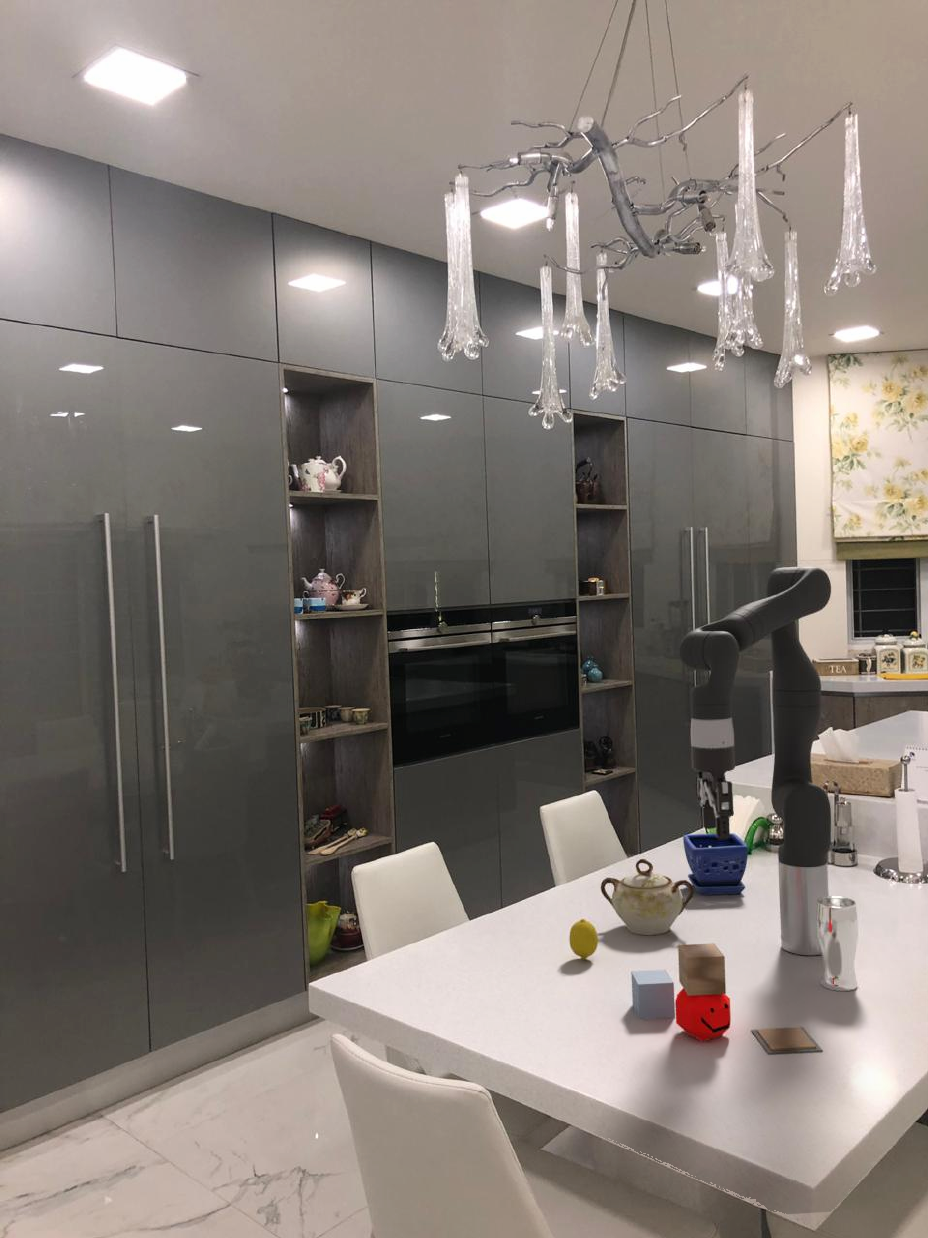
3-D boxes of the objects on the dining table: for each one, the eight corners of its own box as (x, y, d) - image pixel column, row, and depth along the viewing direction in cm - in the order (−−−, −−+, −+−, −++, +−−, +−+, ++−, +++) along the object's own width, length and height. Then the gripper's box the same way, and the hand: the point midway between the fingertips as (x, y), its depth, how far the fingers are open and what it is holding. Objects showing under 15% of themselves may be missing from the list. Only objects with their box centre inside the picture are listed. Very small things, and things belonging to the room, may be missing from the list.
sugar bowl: (594, 937, 212) (591, 865, 211) (609, 915, 226) (607, 848, 225) (690, 944, 205) (687, 871, 205) (699, 921, 219) (697, 852, 219)
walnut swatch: (802, 1028, 164) (802, 1025, 164) (822, 1051, 156) (822, 1048, 156) (751, 1031, 164) (751, 1028, 164) (768, 1054, 155) (768, 1051, 155)
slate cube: (667, 1003, 176) (665, 969, 176) (675, 1018, 170) (673, 982, 170) (632, 1005, 176) (631, 971, 176) (639, 1020, 170) (638, 984, 170)
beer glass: (859, 979, 183) (856, 897, 183) (860, 994, 177) (858, 908, 176) (818, 976, 186) (815, 894, 185) (818, 990, 179) (815, 906, 179)
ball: (701, 1049, 158) (699, 1001, 158) (668, 1031, 165) (666, 984, 165) (740, 1037, 162) (738, 990, 161) (706, 1020, 169) (704, 974, 168)
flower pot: (751, 896, 235) (749, 845, 235) (694, 898, 235) (692, 847, 235) (737, 880, 248) (735, 832, 248) (683, 882, 249) (681, 834, 248)
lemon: (597, 965, 196) (595, 924, 195) (568, 964, 197) (567, 923, 197) (599, 955, 201) (597, 915, 201) (571, 954, 202) (570, 914, 202)
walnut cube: (715, 979, 166) (714, 943, 166) (725, 994, 160) (724, 956, 160) (679, 981, 166) (678, 945, 166) (688, 995, 160) (686, 958, 160)
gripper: (745, 747, 174) (749, 842, 174) (721, 736, 188) (725, 823, 188) (702, 750, 173) (706, 844, 174) (681, 738, 188) (685, 825, 188)
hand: (716, 833), depth 181 cm, fingers open, 8 cm apart
